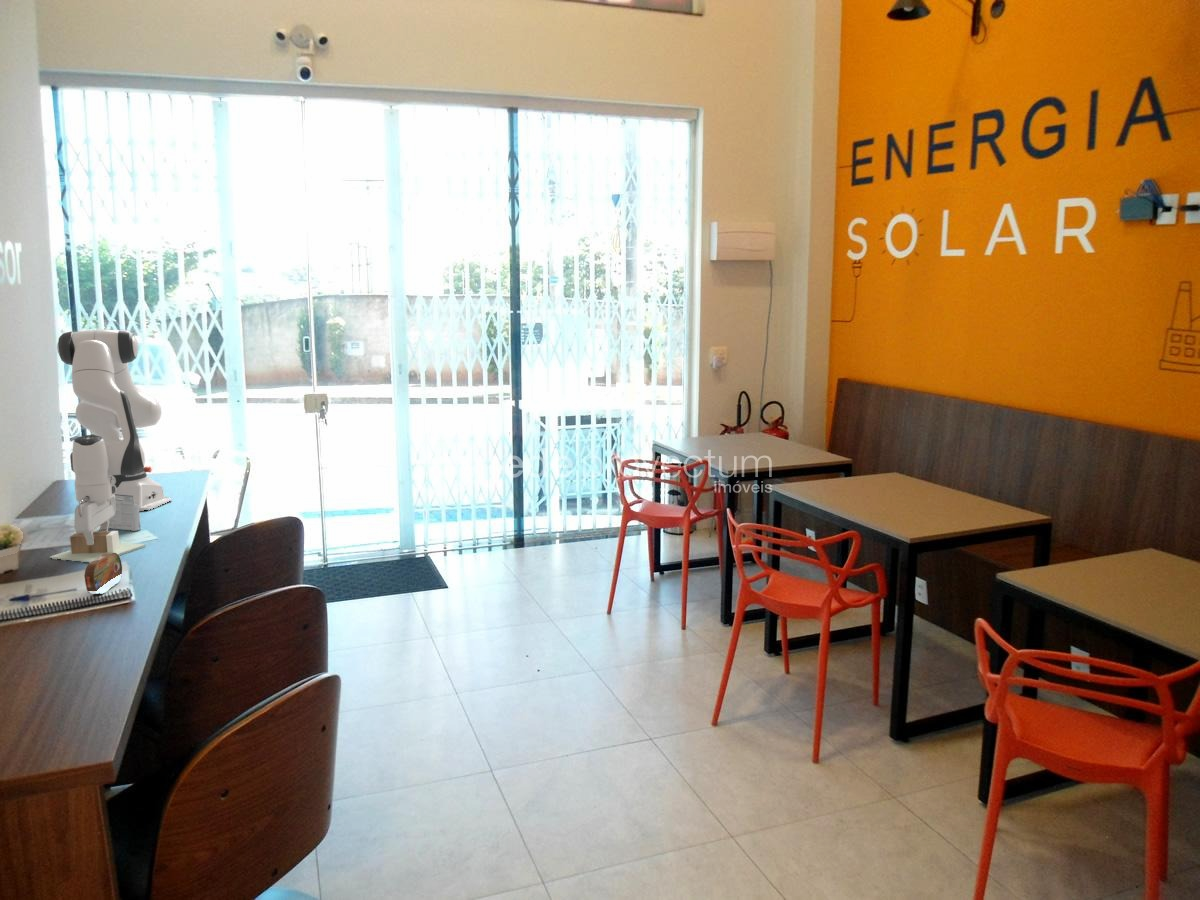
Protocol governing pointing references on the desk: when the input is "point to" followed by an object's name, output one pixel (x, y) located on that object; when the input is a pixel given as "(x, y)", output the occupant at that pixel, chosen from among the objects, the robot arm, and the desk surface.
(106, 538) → the walnut block
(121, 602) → the desk surface
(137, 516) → the ink box
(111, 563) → the tin
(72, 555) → the sage mat
